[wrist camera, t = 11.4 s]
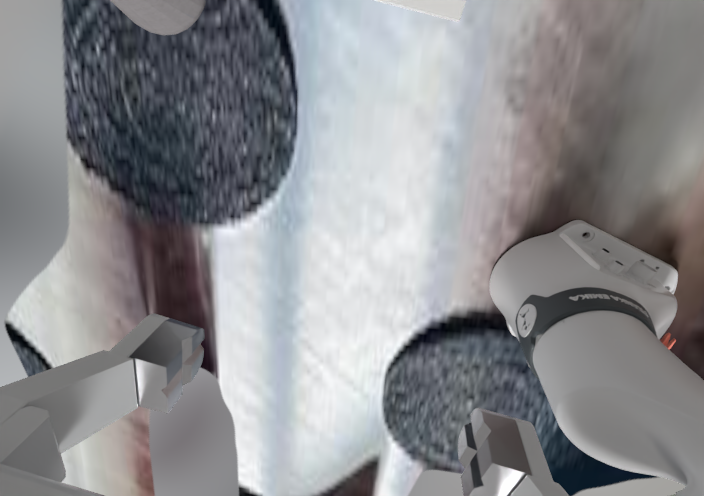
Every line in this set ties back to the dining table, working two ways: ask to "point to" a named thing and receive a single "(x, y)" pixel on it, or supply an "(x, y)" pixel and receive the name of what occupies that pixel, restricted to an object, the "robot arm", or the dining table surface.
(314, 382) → the dining table surface
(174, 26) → the coffee pot
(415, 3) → the stand
